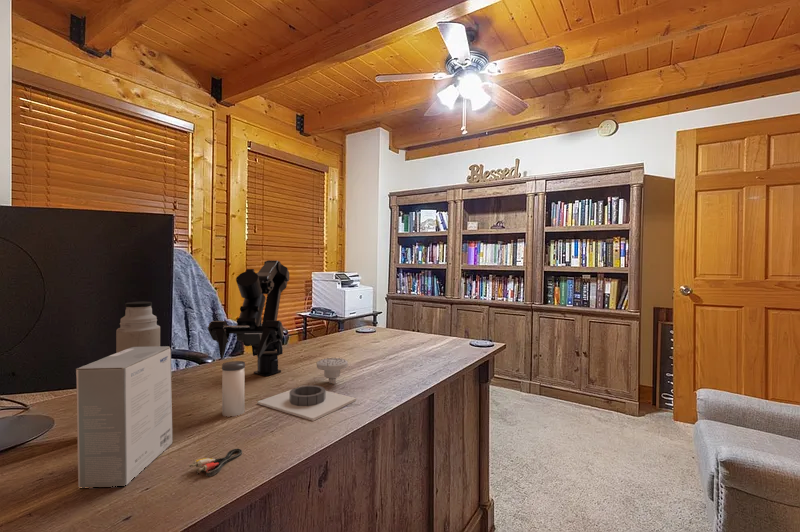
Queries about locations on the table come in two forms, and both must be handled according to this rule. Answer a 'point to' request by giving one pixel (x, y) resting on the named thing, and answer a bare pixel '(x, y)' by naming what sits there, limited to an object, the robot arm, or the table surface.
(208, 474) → the composite cable
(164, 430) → the hard drive box
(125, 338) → the thermos bottle
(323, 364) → the showerhead
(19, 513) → the table surface
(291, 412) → the socket
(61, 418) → the table surface
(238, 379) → the canister
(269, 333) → the robot arm
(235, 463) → the table surface
